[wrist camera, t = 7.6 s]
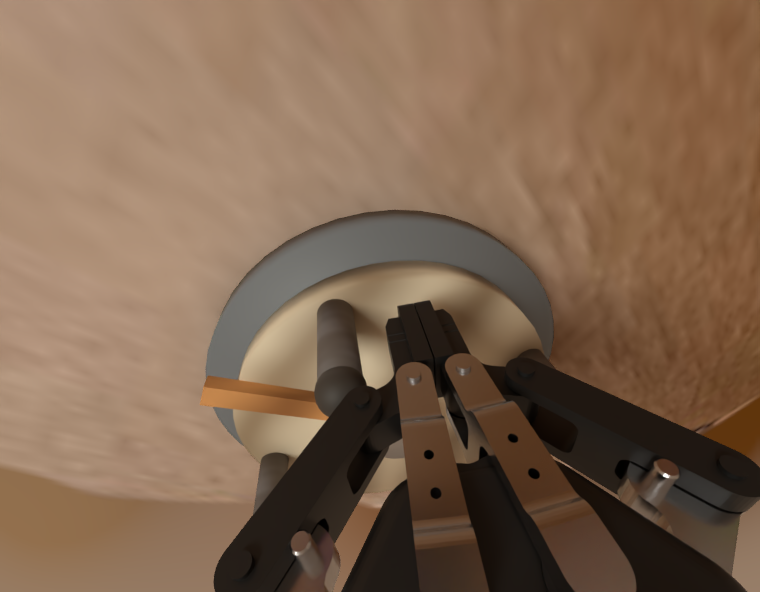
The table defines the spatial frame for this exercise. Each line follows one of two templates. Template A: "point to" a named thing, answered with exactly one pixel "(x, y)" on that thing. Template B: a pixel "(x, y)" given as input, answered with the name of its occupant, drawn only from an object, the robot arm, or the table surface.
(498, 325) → the capstan dial
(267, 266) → the dial base
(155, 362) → the table surface
